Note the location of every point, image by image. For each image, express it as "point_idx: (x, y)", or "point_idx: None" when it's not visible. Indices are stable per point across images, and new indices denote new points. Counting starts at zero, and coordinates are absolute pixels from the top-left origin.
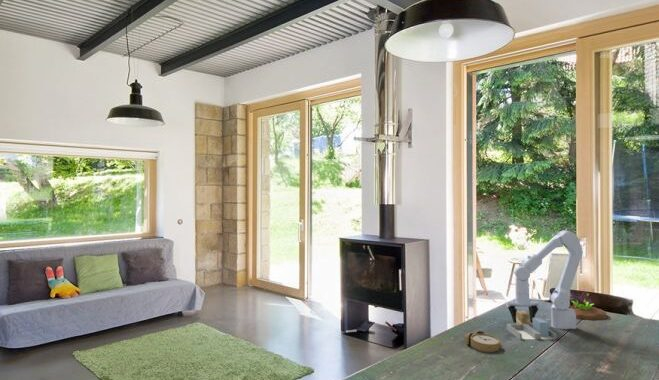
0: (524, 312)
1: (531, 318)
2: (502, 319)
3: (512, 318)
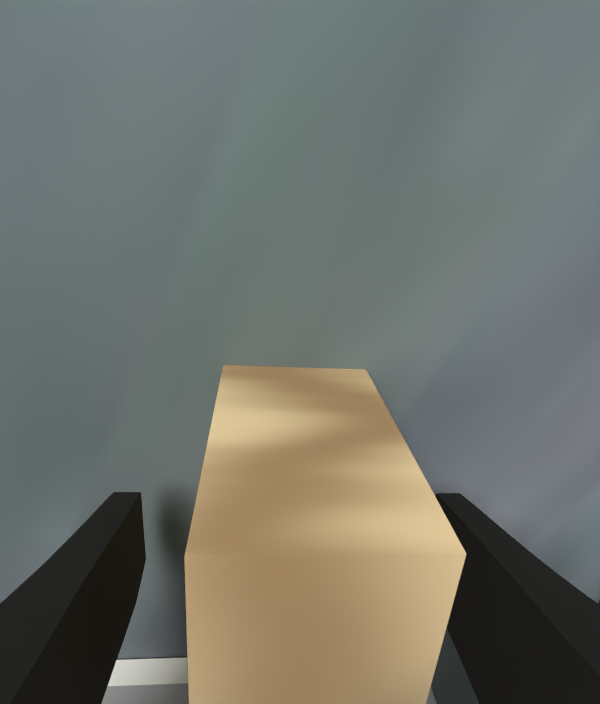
0: (385, 691)
1: (457, 618)
2: (15, 7)
3: (78, 538)
